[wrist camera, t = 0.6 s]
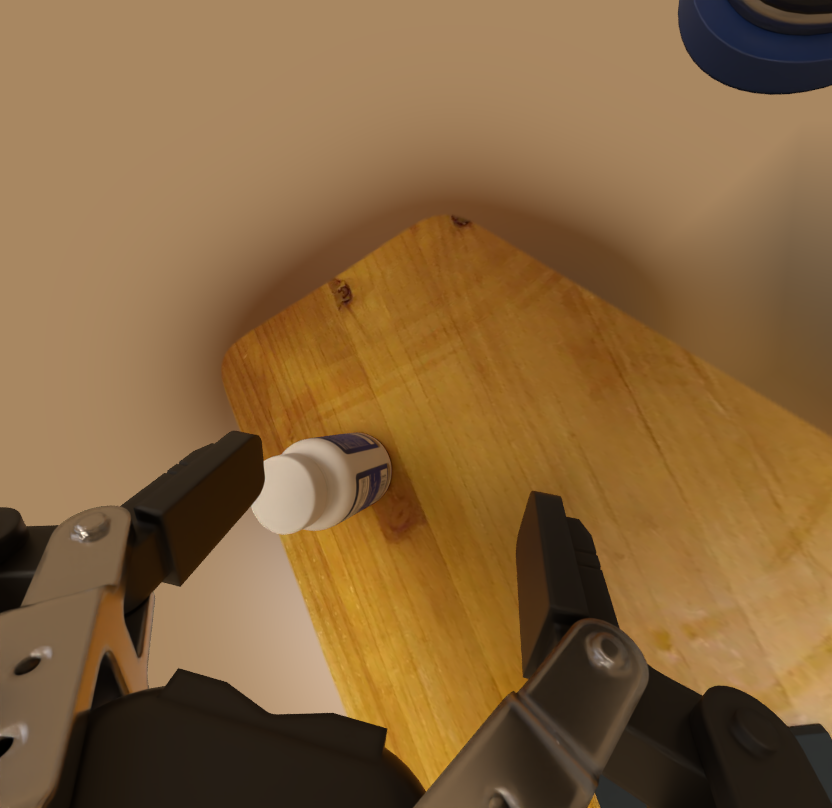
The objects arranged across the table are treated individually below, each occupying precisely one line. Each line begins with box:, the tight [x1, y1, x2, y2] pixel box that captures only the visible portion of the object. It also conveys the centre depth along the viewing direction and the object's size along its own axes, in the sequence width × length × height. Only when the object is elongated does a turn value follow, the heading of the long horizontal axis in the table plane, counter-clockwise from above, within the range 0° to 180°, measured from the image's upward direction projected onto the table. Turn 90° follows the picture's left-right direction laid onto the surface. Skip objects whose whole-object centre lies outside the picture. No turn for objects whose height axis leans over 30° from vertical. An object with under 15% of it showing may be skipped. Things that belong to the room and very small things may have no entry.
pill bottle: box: [251, 433, 392, 535], centre depth 23 cm, size 5×5×9 cm
